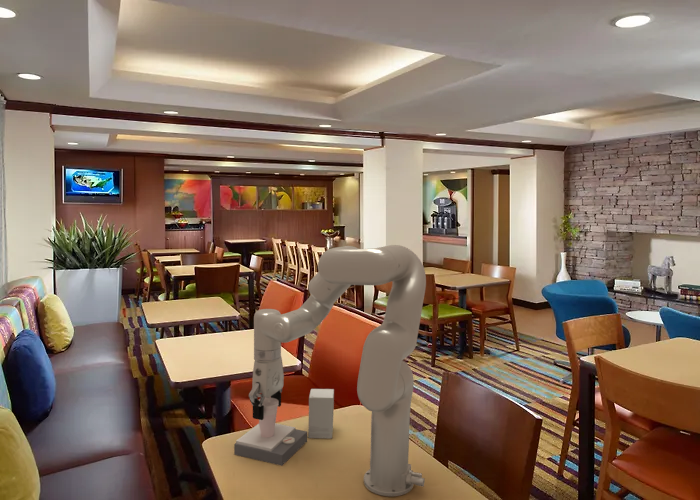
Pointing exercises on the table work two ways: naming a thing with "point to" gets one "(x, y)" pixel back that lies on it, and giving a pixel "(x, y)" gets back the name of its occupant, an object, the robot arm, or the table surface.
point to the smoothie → (268, 417)
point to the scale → (271, 444)
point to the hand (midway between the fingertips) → (267, 412)
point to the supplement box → (321, 413)
